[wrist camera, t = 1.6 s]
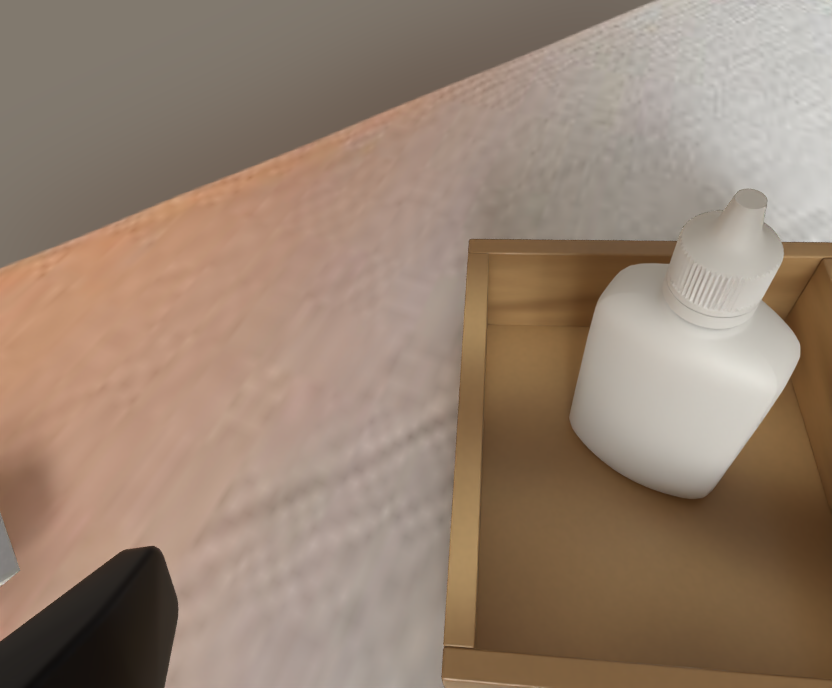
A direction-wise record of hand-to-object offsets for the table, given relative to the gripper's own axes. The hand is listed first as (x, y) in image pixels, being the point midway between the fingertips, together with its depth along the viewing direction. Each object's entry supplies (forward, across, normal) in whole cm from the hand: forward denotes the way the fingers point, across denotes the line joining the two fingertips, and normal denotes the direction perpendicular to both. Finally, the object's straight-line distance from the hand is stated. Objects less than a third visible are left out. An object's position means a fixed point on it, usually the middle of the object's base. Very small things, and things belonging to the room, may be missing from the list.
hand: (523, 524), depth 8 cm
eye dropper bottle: (+14, -7, +8) cm, 18 cm away
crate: (+13, -7, +9) cm, 17 cm away
